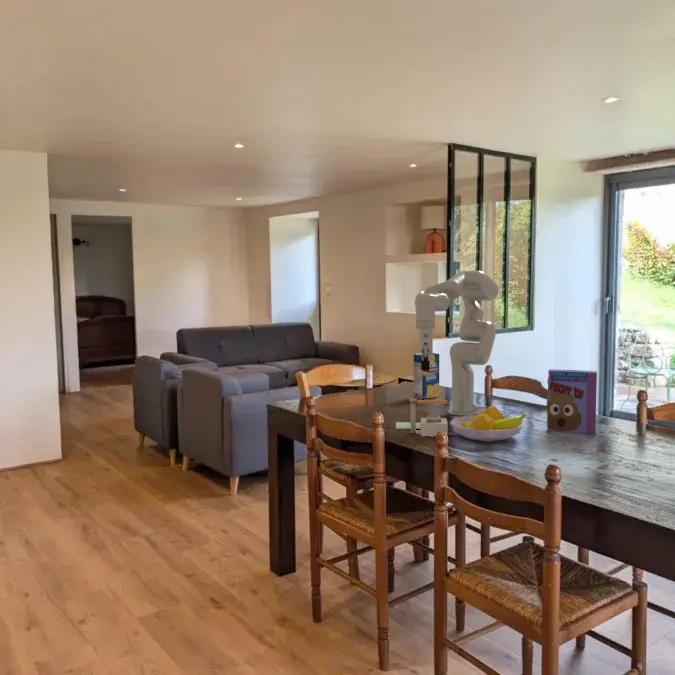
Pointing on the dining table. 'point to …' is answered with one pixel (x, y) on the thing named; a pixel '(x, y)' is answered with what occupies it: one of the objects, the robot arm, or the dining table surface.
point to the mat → (406, 425)
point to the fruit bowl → (488, 425)
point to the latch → (427, 401)
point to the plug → (433, 413)
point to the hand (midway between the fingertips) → (425, 369)
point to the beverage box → (426, 377)
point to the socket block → (427, 424)
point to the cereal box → (572, 401)
